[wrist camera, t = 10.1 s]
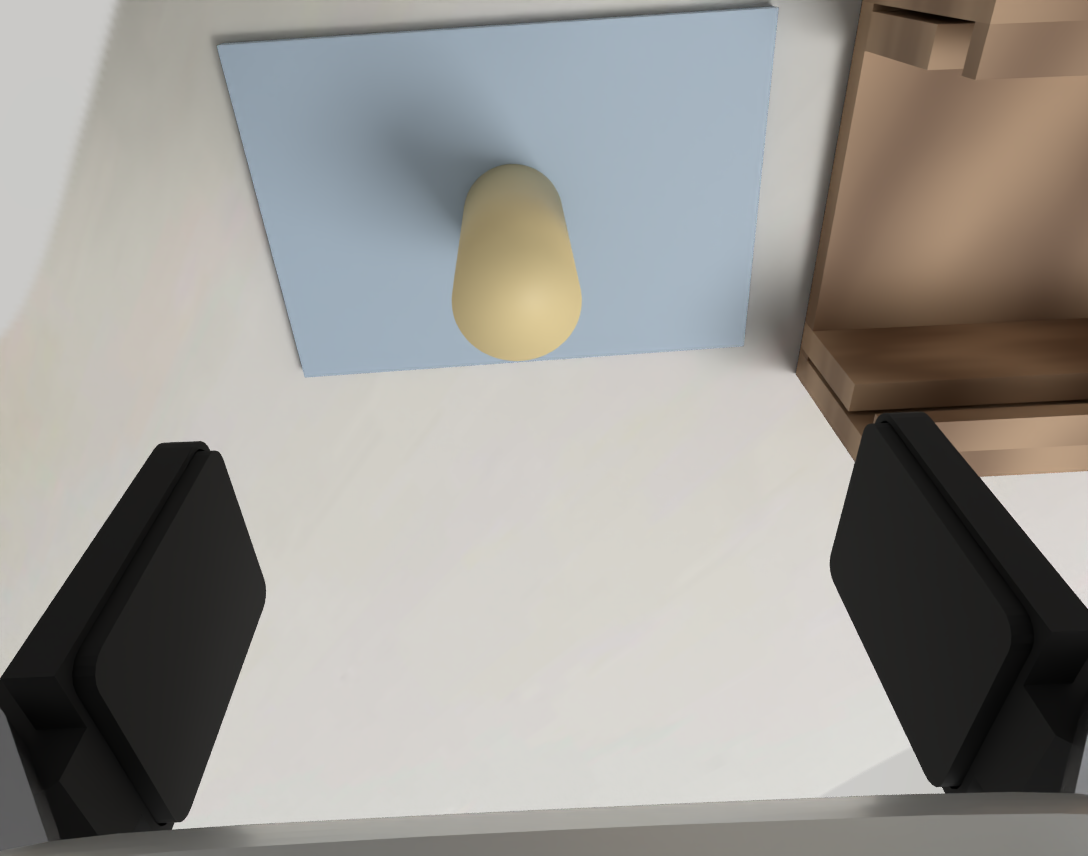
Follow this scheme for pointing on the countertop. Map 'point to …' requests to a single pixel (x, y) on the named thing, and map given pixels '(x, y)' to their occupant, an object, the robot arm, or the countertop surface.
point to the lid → (510, 186)
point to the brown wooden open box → (960, 233)
